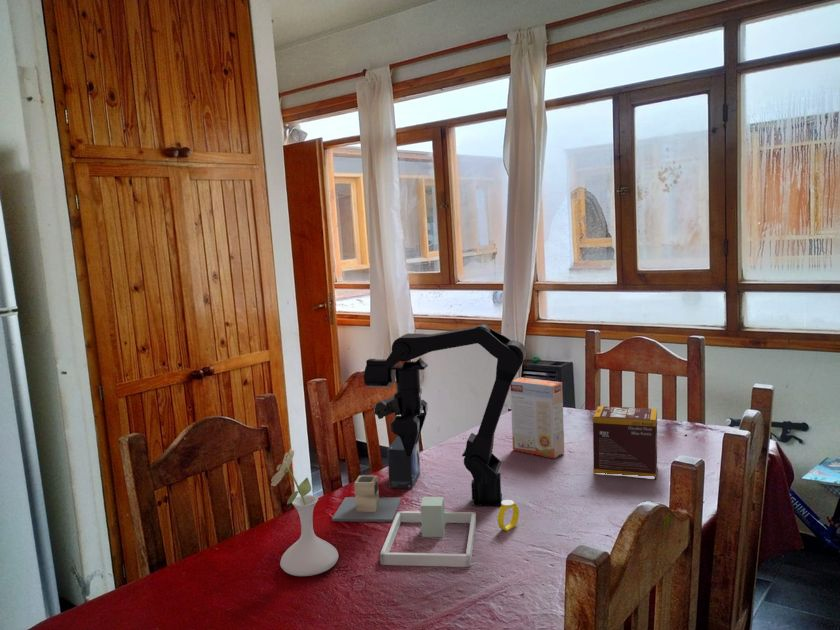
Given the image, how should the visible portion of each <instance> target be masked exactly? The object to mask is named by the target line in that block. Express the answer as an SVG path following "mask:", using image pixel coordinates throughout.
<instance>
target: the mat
mask: <svg viewBox="0 0 840 630" xmlns="http://www.w3.org/2000/svg"><path fill="white" fill-rule="evenodd" d="M401 502H402V497H380V496H379V505H378V507H377V509H376V511H375V512H356V500H355V496H348V497H347V496H345V497H344V498H343V500H342V501H341V503H340V505H339V507H338V508H337V510H336V512H335V513H334V514H333V516H332V518H331V521H332V522H356V523H357V522H362V523H363V522H365V523H366V522H367V523H370V522H372V523H376V522H377V523H378V522H379V523H381V522H382V523H393V521H394V519H395V516H396V514H397V512H398V511H399V510H398V509H399V507H400V505H401Z"/></svg>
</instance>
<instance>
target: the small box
mask: <svg viewBox="0 0 840 630" xmlns="http://www.w3.org/2000/svg"><path fill="white" fill-rule="evenodd" d="M419 441H420V439H418V442H417V444H415V446H414V449H413V452H412V455H411V456H409V457H408V456H406V453H405V450H404V447H403V444H402V441H401V438H400V437H399V436H396V437H395V439H394V440H393V441H392V443H391V444H389V446H388V448H387V462H388V463H387V466H388V467H387V468H388V488H389V489H409V490H410V489H413V487H414V486H415V484H416V482H417V480H418V479H419V476H420V475H421V465H420V460H421V459H420V442H419Z"/></svg>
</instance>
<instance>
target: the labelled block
mask: <svg viewBox="0 0 840 630" xmlns="http://www.w3.org/2000/svg"><path fill="white" fill-rule="evenodd" d="M378 476H379V475H358V477H357V478H356V480H355V481H354V497H355V500H356V512H375V511H376V509H377V507H378V505H379V497H380V495H379V481H378V480H379V477H378Z"/></svg>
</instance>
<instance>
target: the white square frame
mask: <svg viewBox="0 0 840 630" xmlns="http://www.w3.org/2000/svg"><path fill="white" fill-rule="evenodd" d="M476 513H477V512H476V511H445V524H448V523H449V524H454V523H455V524H470V525H469V529H468V530H469V531H468V538H467V546H466V552H465V553H440V552H439V553H434V552H433V553H432V552H429V553H428V552H390V551H391V549H392V546H393V544H394V541H395V539H396V537H397V533H398V531H399V529H400V526H401V523H421V510H420V511H413V510H411V511H410V510H409V511H407V510H397V512H396V514H395V517H394V519H393V522H392V524H391V526H390V529H389V532H388V534H387V537H386V539H385V541H384V544H383V546H382V549H381V550H380V553H379V559H380V560H379V561H380V566H407V567H409V566H412V567H413V566H414V567H415V566H416V567H417V566H419V567H451V568H452V567H453V568H454V567H456V568H458V567H459V568H471V564H472V556H473V547H474V543H475V534H476V526H477V514H476Z"/></svg>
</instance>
